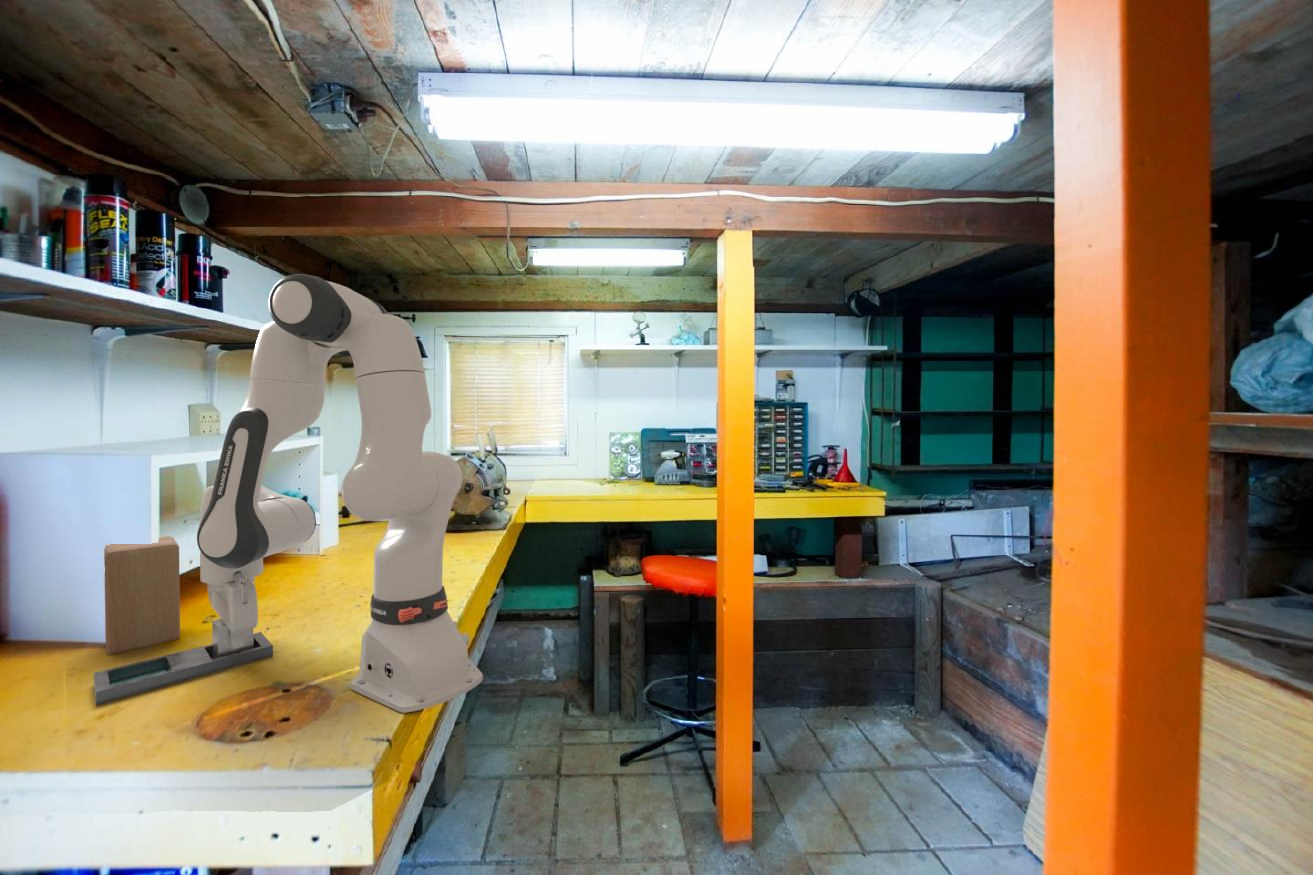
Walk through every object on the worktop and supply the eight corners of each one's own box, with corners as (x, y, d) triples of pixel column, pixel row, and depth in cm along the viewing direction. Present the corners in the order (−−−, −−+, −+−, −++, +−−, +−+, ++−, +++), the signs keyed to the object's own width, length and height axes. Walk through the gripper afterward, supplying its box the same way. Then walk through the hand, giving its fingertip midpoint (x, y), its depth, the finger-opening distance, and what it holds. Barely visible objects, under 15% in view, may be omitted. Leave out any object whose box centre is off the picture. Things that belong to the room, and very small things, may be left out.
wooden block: (105, 642, 99) (104, 542, 99) (175, 627, 107) (174, 534, 106) (106, 658, 93) (105, 551, 92) (180, 641, 100) (179, 542, 100)
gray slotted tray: (273, 659, 93) (272, 645, 93) (96, 709, 77) (95, 692, 76) (260, 644, 99) (260, 631, 99) (93, 688, 82) (93, 672, 82)
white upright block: (253, 657, 93) (253, 619, 93) (218, 666, 89) (217, 627, 89) (247, 649, 96) (246, 612, 96) (212, 658, 92) (212, 620, 92)
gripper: (268, 574, 88) (269, 652, 88) (242, 554, 101) (242, 622, 101) (221, 583, 83) (222, 665, 83) (200, 560, 96) (200, 631, 96)
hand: (233, 641), depth 92 cm, fingers closed on white upright block, 5 cm apart
